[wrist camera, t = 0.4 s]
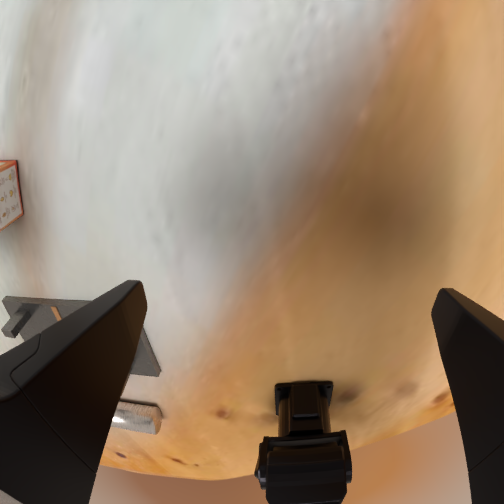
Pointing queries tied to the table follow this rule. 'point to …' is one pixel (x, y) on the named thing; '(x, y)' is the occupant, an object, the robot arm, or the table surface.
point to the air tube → (137, 418)
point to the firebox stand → (52, 310)
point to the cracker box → (9, 194)
